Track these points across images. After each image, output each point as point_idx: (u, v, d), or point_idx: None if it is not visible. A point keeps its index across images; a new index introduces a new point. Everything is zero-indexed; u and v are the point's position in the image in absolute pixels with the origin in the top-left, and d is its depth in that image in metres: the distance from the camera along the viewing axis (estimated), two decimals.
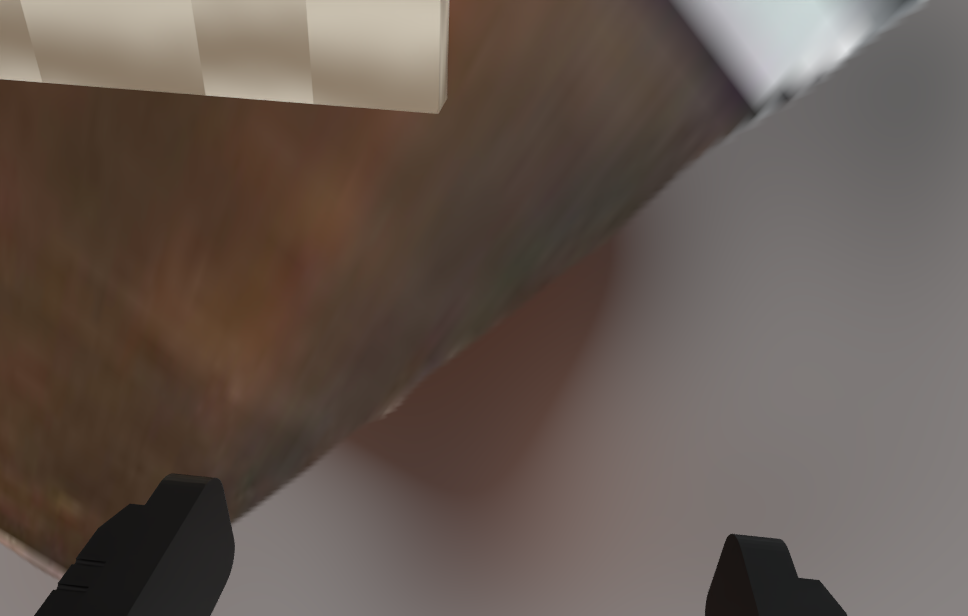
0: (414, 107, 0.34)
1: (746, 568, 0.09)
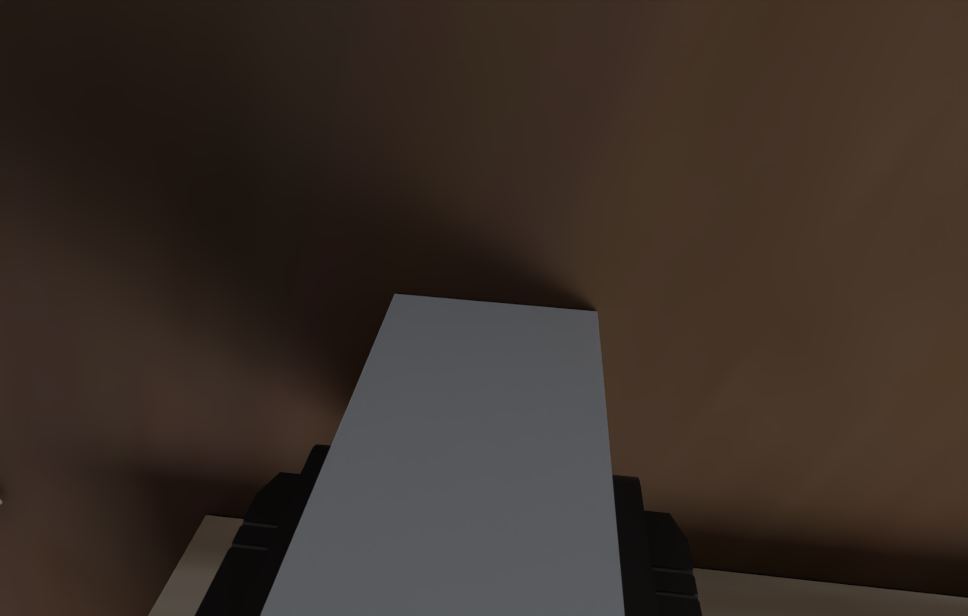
0: None
1: None
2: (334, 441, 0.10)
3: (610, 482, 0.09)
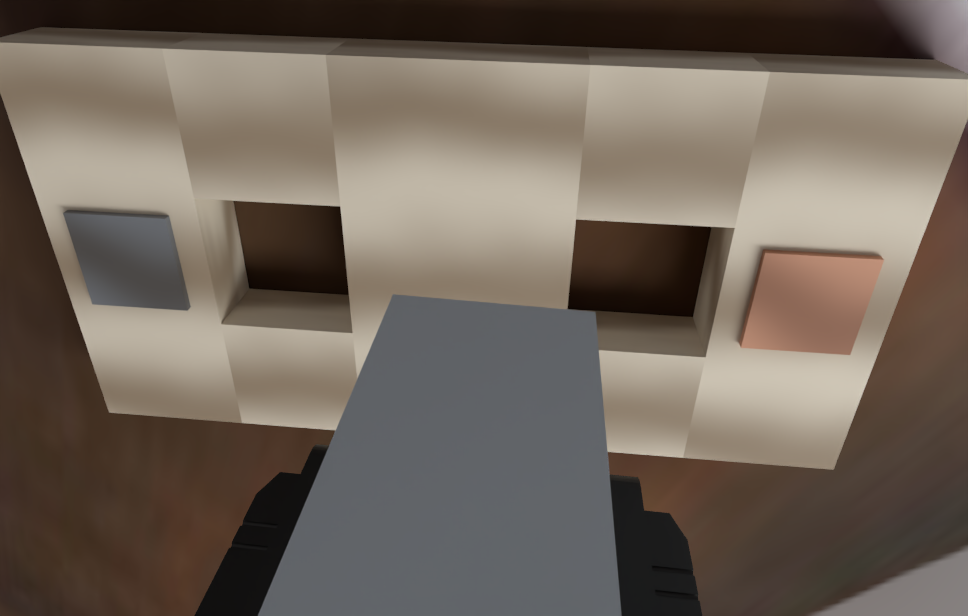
0: (806, 463, 0.29)
1: None
2: (332, 441, 0.10)
3: (607, 482, 0.09)
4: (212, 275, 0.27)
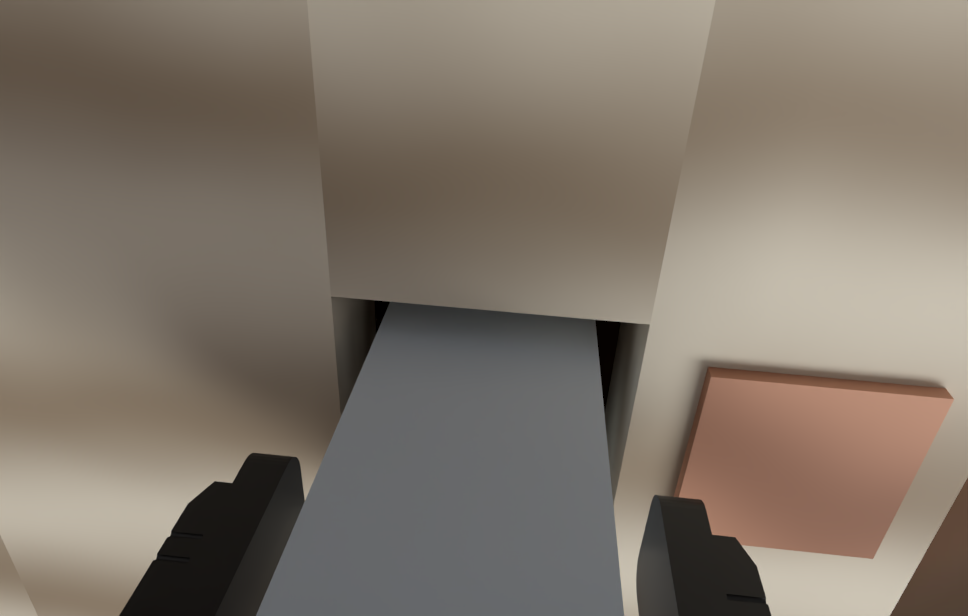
0: None
1: (663, 524, 0.10)
2: (357, 381, 0.11)
3: (602, 411, 0.11)
4: None
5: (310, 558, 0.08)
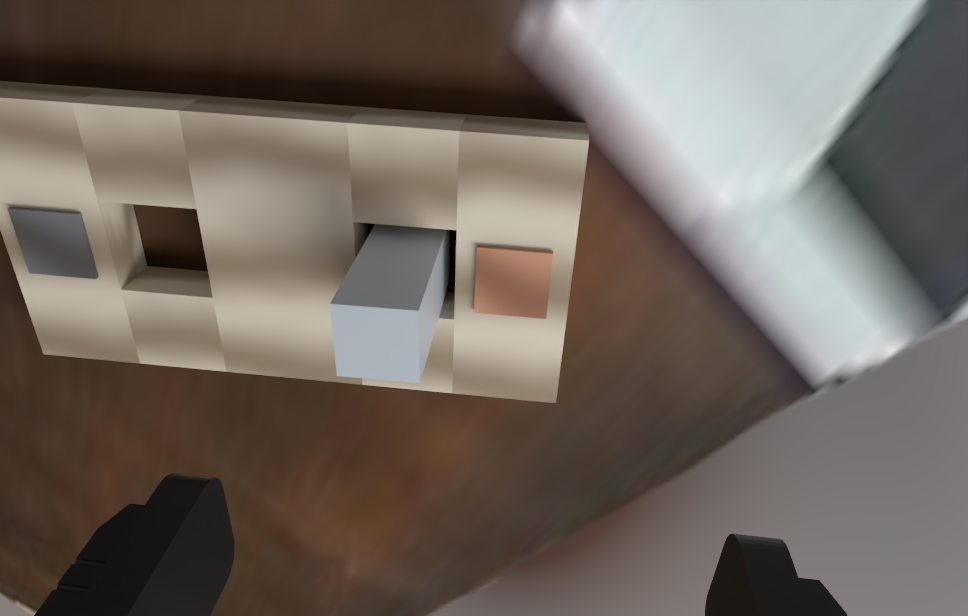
0: (536, 398, 0.41)
1: (746, 568, 0.09)
2: (361, 248, 0.35)
3: (436, 255, 0.35)
4: (112, 254, 0.39)
5: (350, 281, 0.32)
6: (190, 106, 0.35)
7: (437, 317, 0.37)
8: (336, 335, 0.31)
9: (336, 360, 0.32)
